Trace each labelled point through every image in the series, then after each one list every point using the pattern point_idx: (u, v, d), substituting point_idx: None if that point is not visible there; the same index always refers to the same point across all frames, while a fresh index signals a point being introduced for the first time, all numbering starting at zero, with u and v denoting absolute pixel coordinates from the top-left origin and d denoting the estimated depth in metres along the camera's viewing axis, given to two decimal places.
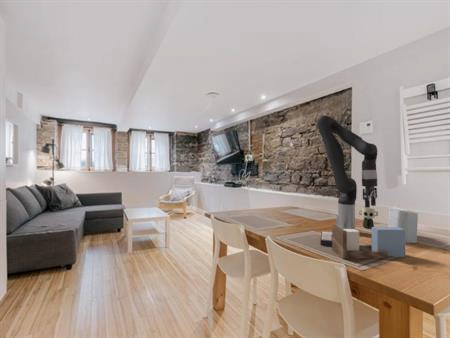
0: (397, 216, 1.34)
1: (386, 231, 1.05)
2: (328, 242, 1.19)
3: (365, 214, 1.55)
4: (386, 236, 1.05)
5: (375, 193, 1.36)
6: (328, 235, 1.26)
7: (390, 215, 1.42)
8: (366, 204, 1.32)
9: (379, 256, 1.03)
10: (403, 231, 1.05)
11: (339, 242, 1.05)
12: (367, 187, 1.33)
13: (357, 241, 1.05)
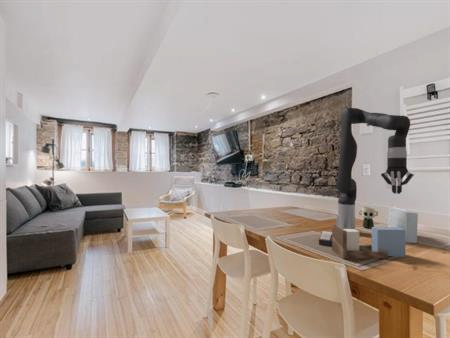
0: (397, 216, 1.34)
1: (386, 231, 1.05)
2: (326, 242, 1.20)
3: (365, 214, 1.55)
4: (386, 236, 1.05)
5: None
6: (327, 235, 1.27)
7: (390, 215, 1.42)
8: (400, 190, 1.12)
9: (379, 256, 1.03)
10: (403, 231, 1.05)
11: (339, 242, 1.05)
12: (406, 168, 1.11)
13: (357, 241, 1.05)
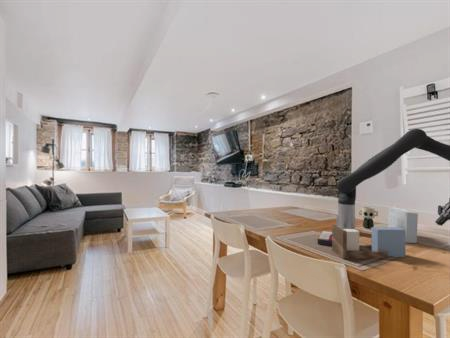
0: (397, 216, 1.34)
1: (386, 231, 1.05)
2: (325, 241, 1.20)
3: (365, 214, 1.55)
4: (386, 236, 1.05)
5: None
6: (327, 235, 1.27)
7: (390, 215, 1.42)
8: (442, 221, 1.05)
9: (379, 256, 1.03)
10: (403, 231, 1.05)
11: (339, 242, 1.05)
12: None
13: (357, 241, 1.05)
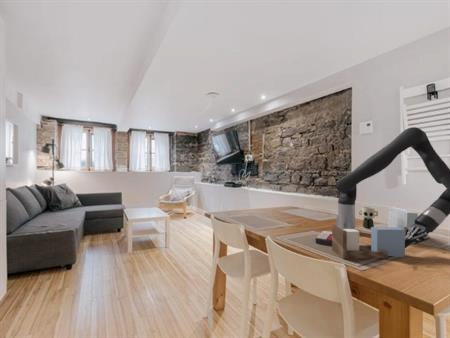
0: (397, 216, 1.34)
1: (386, 231, 1.05)
2: (322, 241, 1.22)
3: (365, 214, 1.55)
4: (386, 236, 1.05)
5: None
6: (326, 234, 1.28)
7: (390, 215, 1.42)
8: None
9: (379, 256, 1.03)
10: (403, 231, 1.05)
11: (339, 242, 1.05)
12: (429, 229, 1.03)
13: (357, 241, 1.05)
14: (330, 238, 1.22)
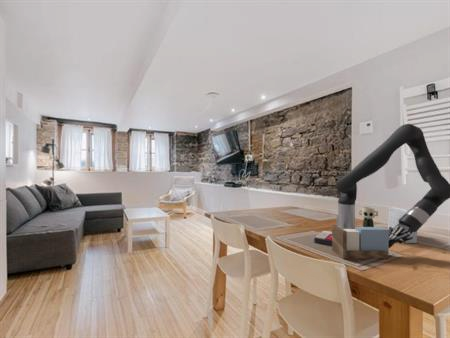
0: (397, 216, 1.34)
1: (369, 231, 1.05)
2: (321, 240, 1.22)
3: (365, 214, 1.55)
4: (369, 236, 1.05)
5: None
6: (325, 234, 1.28)
7: (390, 215, 1.42)
8: (390, 244, 1.06)
9: (379, 256, 1.03)
10: (386, 231, 1.05)
11: (339, 242, 1.05)
12: (412, 229, 1.03)
13: (357, 241, 1.05)
14: (329, 238, 1.22)
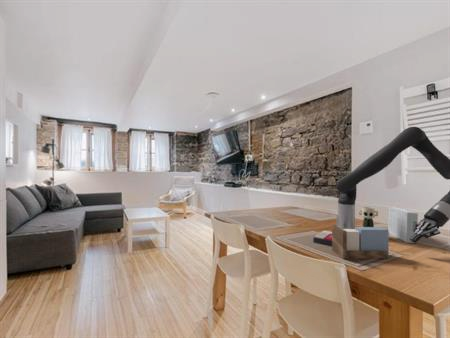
0: (397, 216, 1.34)
1: (369, 231, 1.05)
2: (320, 240, 1.23)
3: (365, 214, 1.55)
4: (369, 236, 1.05)
5: None
6: (325, 234, 1.29)
7: (390, 215, 1.42)
8: (416, 239, 1.06)
9: (379, 256, 1.03)
10: (386, 231, 1.05)
11: (339, 242, 1.05)
12: (439, 224, 1.03)
13: (357, 241, 1.05)
14: (328, 237, 1.23)
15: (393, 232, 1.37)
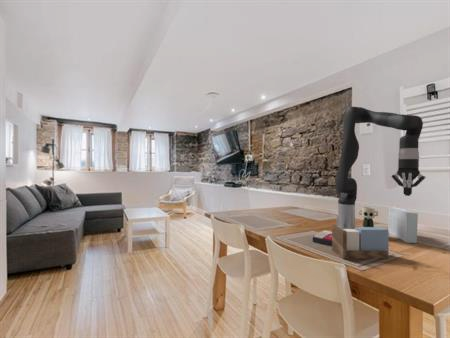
0: (397, 216, 1.34)
1: (369, 231, 1.05)
2: (319, 239, 1.24)
3: (365, 214, 1.55)
4: (369, 236, 1.05)
5: None
6: (325, 234, 1.29)
7: (390, 215, 1.42)
8: (410, 192, 1.10)
9: (379, 256, 1.03)
10: (386, 231, 1.05)
11: (339, 242, 1.05)
12: (418, 169, 1.08)
13: (357, 241, 1.05)
14: (327, 237, 1.23)
15: (393, 232, 1.37)
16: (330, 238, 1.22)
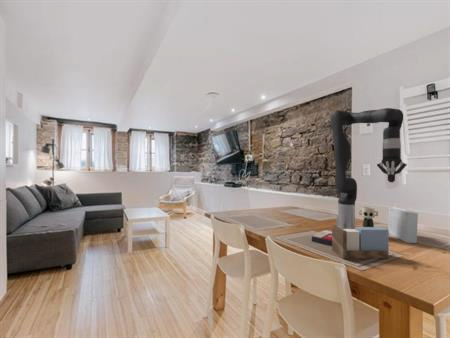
0: (397, 216, 1.34)
1: (369, 231, 1.05)
2: (317, 239, 1.24)
3: (365, 214, 1.55)
4: (369, 236, 1.05)
5: None
6: (324, 233, 1.29)
7: (390, 215, 1.42)
8: (394, 179, 1.20)
9: (379, 256, 1.03)
10: (386, 231, 1.05)
11: (339, 242, 1.05)
12: (400, 158, 1.18)
13: (357, 241, 1.05)
14: (325, 237, 1.24)
15: (393, 232, 1.37)
16: (329, 238, 1.22)
